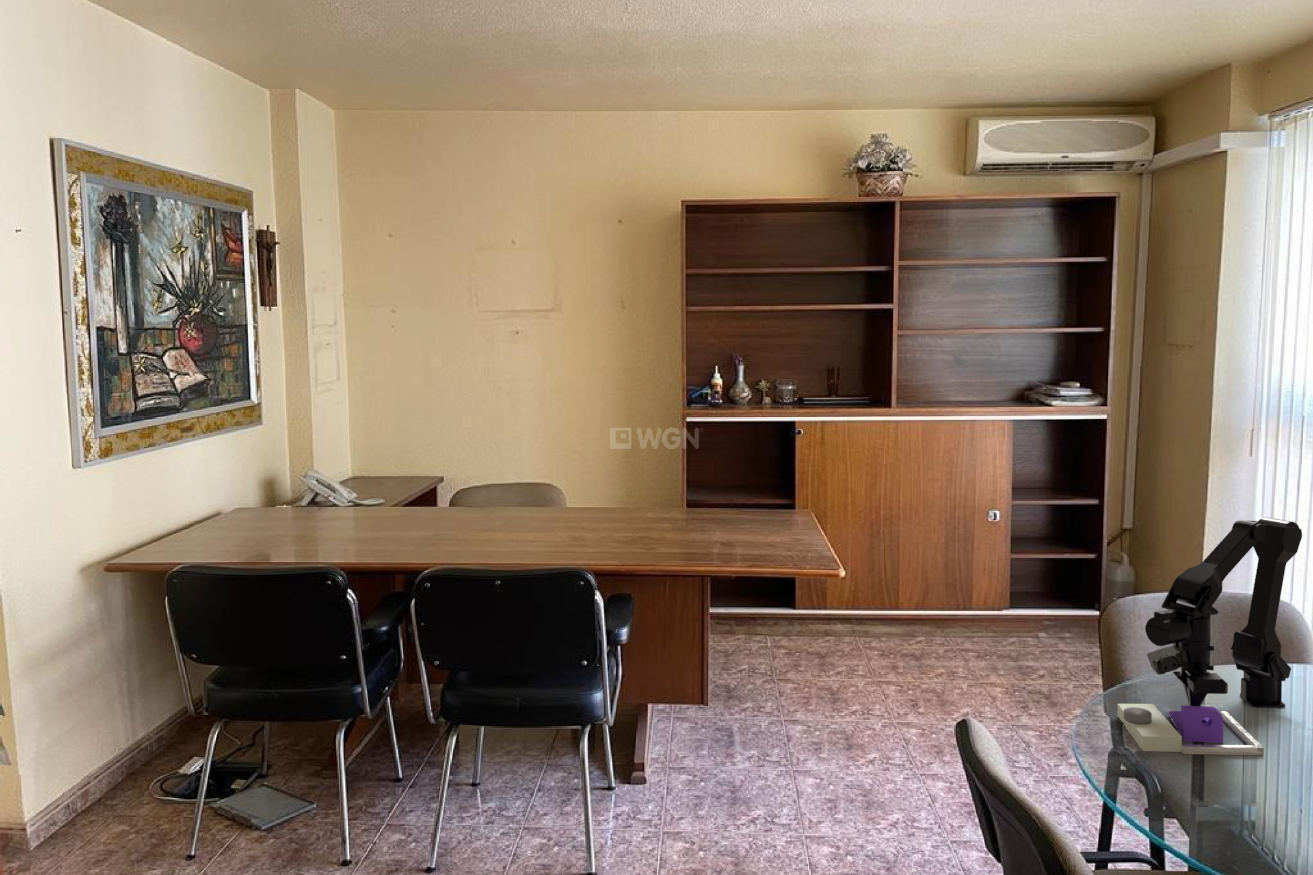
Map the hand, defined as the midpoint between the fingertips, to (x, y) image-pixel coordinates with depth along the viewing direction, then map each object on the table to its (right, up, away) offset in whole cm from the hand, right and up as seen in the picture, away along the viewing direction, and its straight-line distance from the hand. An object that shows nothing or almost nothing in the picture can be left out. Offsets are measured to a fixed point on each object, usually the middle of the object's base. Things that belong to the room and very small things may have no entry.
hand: (1193, 710), depth 197 cm
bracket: (-2, -3, -4) cm, 5 cm away
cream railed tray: (-5, -3, -6) cm, 9 cm away
